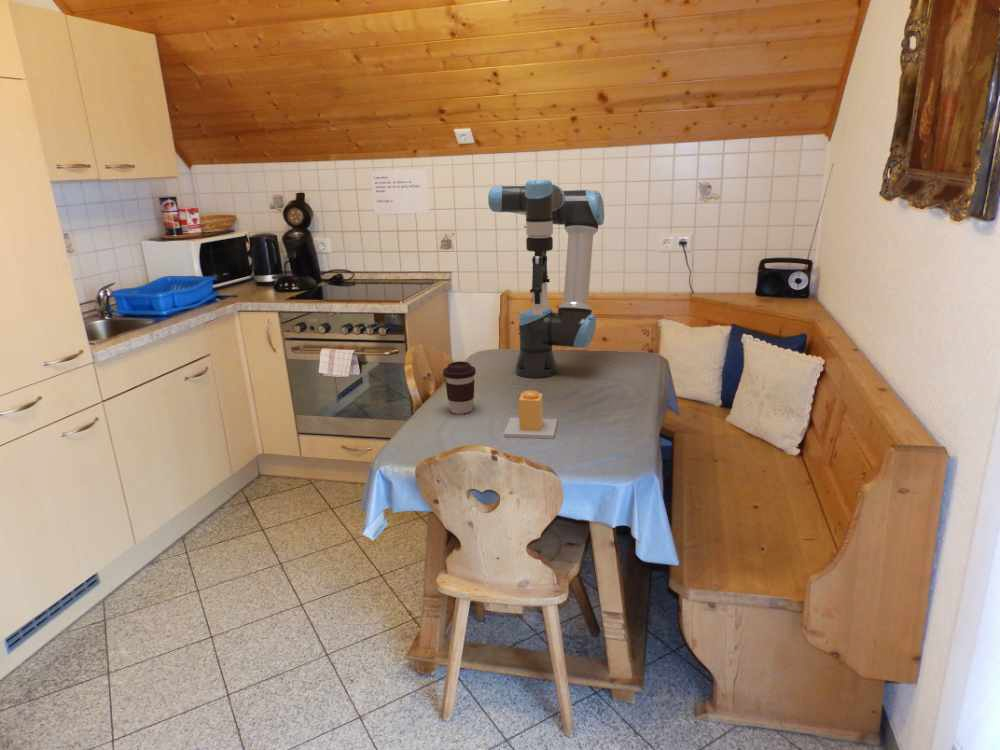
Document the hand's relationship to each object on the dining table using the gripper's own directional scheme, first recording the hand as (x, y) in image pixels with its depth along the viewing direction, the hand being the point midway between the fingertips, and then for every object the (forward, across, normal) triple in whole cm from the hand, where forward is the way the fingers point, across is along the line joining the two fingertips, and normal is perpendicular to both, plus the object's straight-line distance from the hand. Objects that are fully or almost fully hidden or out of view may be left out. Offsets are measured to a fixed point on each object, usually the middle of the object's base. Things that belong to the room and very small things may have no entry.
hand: (540, 309), depth 198 cm
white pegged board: (+32, +16, -2) cm, 35 cm away
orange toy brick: (+31, +16, -1) cm, 34 cm away
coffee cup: (+32, +2, -25) cm, 41 cm away
